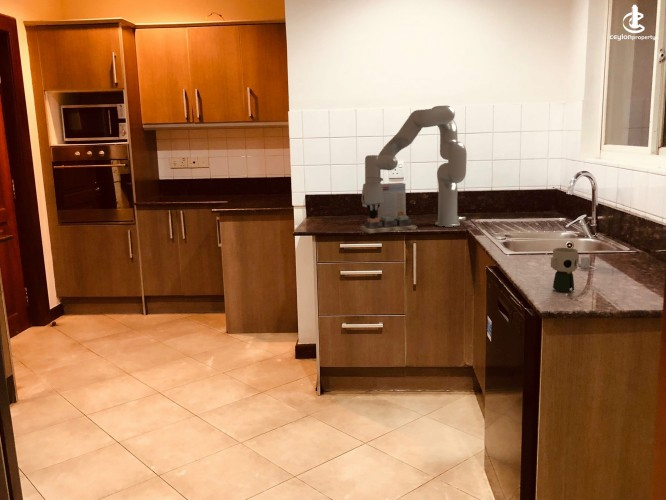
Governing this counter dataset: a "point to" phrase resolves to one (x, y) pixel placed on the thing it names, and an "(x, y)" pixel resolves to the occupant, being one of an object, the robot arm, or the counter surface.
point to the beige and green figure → (564, 268)
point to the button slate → (388, 218)
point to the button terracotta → (373, 220)
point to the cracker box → (393, 201)
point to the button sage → (403, 217)
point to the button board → (387, 226)
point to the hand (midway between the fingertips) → (372, 218)
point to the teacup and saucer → (585, 263)
